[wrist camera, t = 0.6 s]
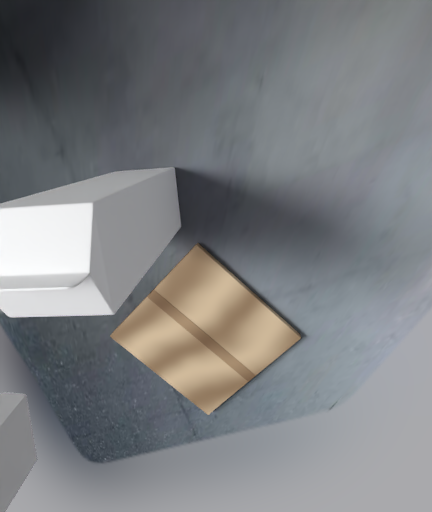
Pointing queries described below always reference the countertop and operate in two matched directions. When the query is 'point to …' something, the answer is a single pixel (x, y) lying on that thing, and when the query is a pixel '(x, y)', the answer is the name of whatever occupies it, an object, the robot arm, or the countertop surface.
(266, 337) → the flat cardboard box
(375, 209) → the countertop surface
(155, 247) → the milk
